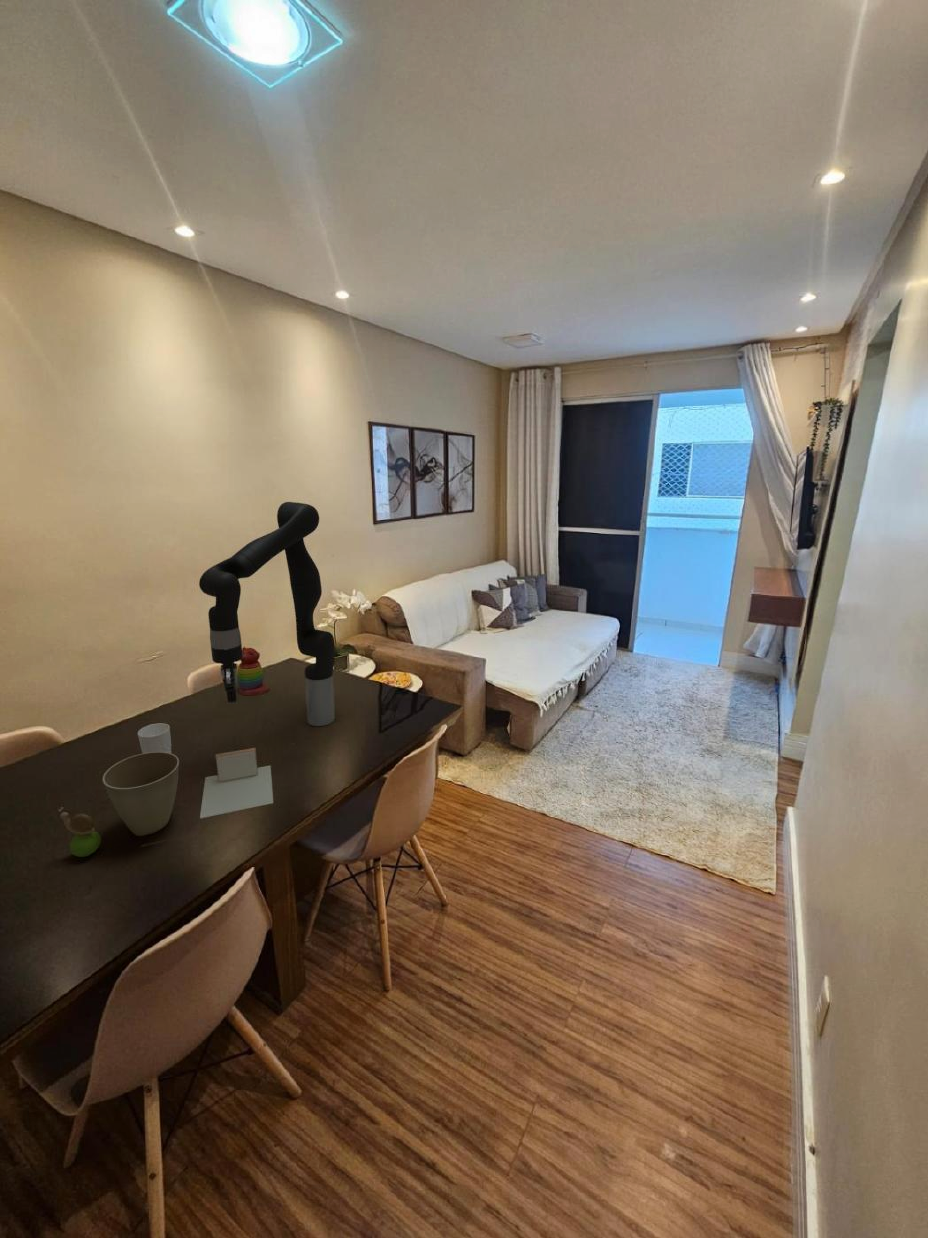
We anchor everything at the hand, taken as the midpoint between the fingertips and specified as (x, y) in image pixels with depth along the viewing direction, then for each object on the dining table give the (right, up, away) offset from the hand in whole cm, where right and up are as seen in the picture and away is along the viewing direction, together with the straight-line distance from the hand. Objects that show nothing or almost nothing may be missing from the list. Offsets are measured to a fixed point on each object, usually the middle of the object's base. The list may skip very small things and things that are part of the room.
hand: (232, 700), depth 135 cm
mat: (+4, -24, -5) cm, 25 cm away
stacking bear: (-18, -5, +54) cm, 57 cm away
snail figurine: (-19, -30, -28) cm, 45 cm away
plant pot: (-10, -27, -19) cm, 35 cm away
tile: (+2, -21, 0) cm, 22 cm away
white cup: (-25, -19, +7) cm, 32 cm away
